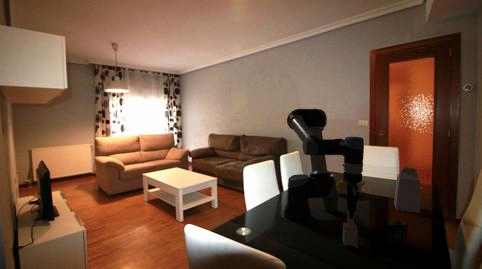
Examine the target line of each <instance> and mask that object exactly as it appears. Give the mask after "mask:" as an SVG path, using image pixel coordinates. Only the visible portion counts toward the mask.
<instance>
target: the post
mask: <svg viewBox="0 0 482 269" xmlns="http://www.w3.org/2000/svg"><path fill="white" fill-rule="evenodd" d="M341 240H342V244H344V242H343V239H341ZM344 246H345V247H344ZM343 247H344V248H349V247H352V248H351V249H356V248H358V249H357V250H359V249H360V247H359V245H358V243H357V246H352V245H345V244H344V245H343Z"/></svg>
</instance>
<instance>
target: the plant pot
mask: <svg viewBox="0 0 482 269" xmlns="http://www.w3.org/2000/svg"><path fill="white" fill-rule="evenodd" d="M340 195H341V194H340V192H339V191H336V192H335V194H334V195H333V196H332V197H328V198H321V200H322V203H323V209H324V211H326V212H328V213H334V212H338V210H339V209H338V207H339V197H340Z"/></svg>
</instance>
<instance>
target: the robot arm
mask: <svg viewBox="0 0 482 269" xmlns="http://www.w3.org/2000/svg"><path fill="white" fill-rule="evenodd" d="M327 121H328V118H327V114H326V112H325V111H324V110H323V109H322V108H296V109H293V110H291V112H289V114H288V115H287V118H286V123H287V126H288V127H289V128H290V129H291V130H293V132H294V133H295V134H296V135H297V137H298V139H300V140H301V142H302V147H301V148H302V151H303V154H304V155H306V156H309V159H310V164H311V165H310V166H311V172H310V173H309V175H308V174H304V173H303V174H302V173H300V174H299V173H297V174H292V175H291V176H289V178H288V179H287V180H288V181H287V202H286V205H285V208H284V210H283V216H284V217H285V218H286V219H288V220H290V221H295V222H308V221H309V220H311V219H312V212H311V208H310V205H309V199H322V198H328V197H332V196H333V195H334V194H335V192H336V181H335V180H336V178H334V176H332V175H331V172H330V171H328V167H327V158H326V156H342V157H343V163H342V167H343V173H342V174H343V176H342V177H343V180H344V181H346V182H348V184H347V195H346V206H347V208H346V211H347V212H346V214H347V215H346V217H347V218H346V223H347V225H354V224H355V215H356V214H355V213H356V211H357V203H358V195H359V192H357V191H358V186H357V185H356V184H357V183H363V172H364V153H365V152H364V151H365V144H364V142H365V141H364V138H363V137H360V136H346V137H345V138H344V139H343V138H334V139H333V138H331V139H330V138H329V139H327V138H325V139H324V136H323V131H324V130H325V127H326V126H327V123H328V122H327Z"/></svg>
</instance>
